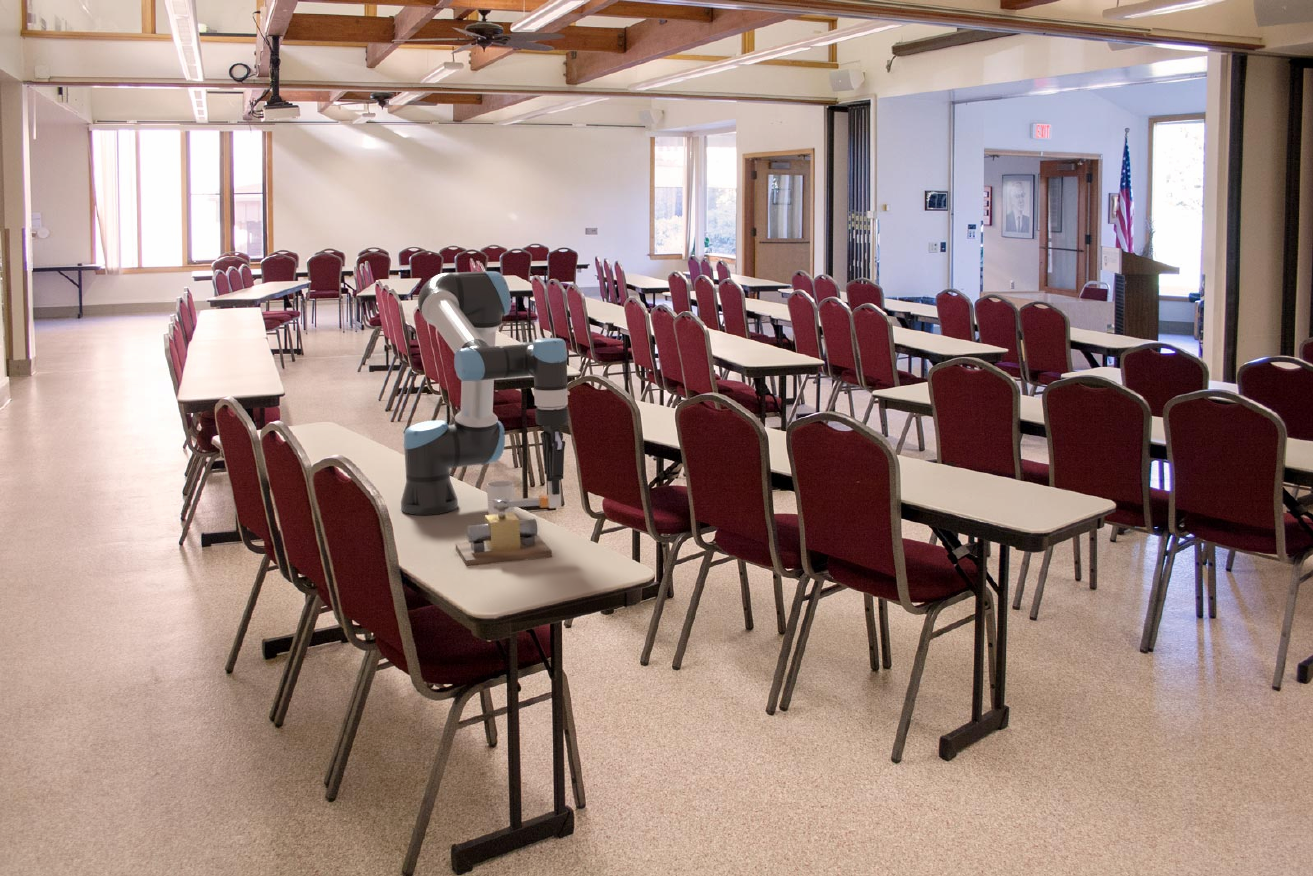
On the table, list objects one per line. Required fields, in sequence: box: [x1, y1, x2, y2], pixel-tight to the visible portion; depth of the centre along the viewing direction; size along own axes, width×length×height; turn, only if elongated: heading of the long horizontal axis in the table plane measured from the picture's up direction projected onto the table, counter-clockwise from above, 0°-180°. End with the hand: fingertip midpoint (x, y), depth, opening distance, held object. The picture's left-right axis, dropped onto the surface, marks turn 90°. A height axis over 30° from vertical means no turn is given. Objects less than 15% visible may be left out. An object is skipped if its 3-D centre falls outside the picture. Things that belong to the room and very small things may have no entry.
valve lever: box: [493, 494, 549, 510], centre depth 265 cm, size 15×4×2 cm, turn 102°
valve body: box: [466, 509, 538, 553], centre depth 265 cm, size 7×16×9 cm, turn 110°
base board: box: [454, 534, 553, 567], centre depth 266 cm, size 14×20×2 cm
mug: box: [486, 480, 515, 515], centre depth 286 cm, size 10×7×12 cm, turn 19°
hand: (554, 506), depth 261 cm, fingers closed
